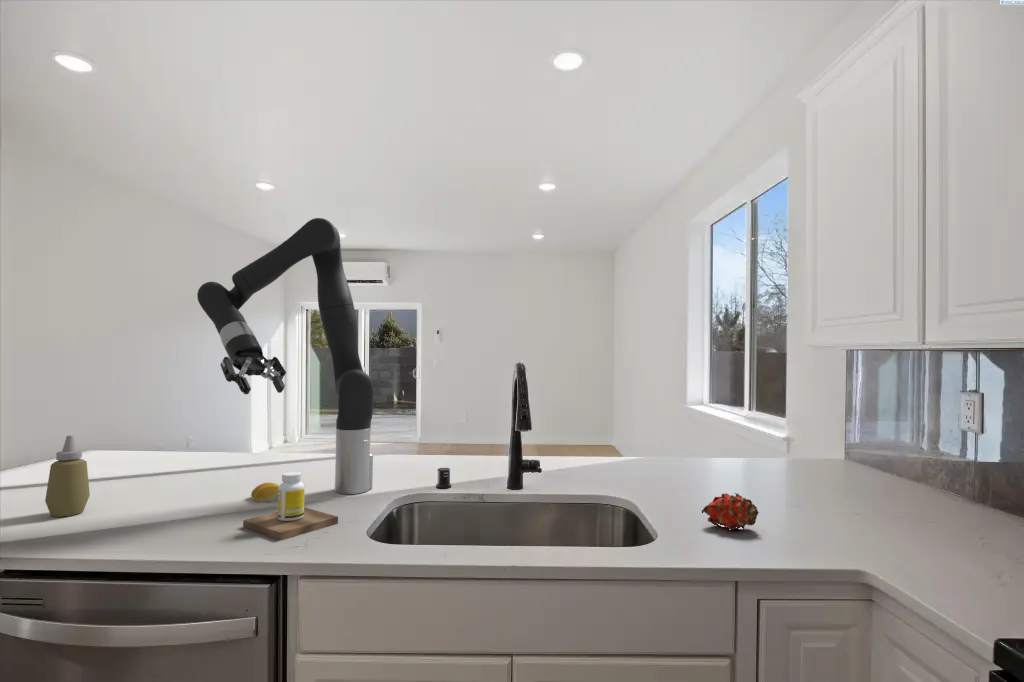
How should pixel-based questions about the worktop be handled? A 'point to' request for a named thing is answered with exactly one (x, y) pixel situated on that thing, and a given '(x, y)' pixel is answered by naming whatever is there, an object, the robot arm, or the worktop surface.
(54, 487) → the squeeze bottle
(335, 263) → the robot arm
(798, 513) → the worktop surface
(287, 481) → the supplement bottle
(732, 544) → the worktop surface
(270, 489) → the bread roll
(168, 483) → the worktop surface
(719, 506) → the dragon fruit
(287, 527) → the walnut board
